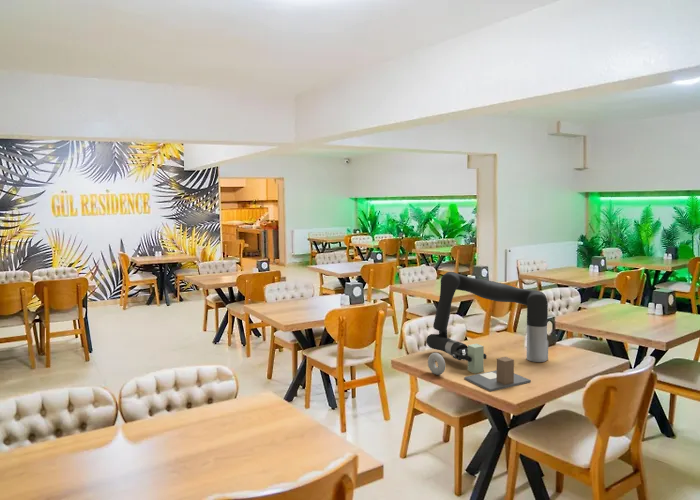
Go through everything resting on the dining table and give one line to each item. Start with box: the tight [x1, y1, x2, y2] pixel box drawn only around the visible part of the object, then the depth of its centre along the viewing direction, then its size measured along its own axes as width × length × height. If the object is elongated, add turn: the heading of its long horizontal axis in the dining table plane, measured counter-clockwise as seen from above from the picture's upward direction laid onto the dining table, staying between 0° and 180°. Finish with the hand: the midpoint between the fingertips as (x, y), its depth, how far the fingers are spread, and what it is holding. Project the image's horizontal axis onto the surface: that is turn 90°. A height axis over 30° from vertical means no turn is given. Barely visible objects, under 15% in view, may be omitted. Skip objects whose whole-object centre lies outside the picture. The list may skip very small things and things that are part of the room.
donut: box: [427, 352, 446, 376], centre depth 241 cm, size 10×4×10 cm, turn 34°
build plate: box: [463, 356, 532, 392], centre depth 231 cm, size 22×17×11 cm
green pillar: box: [467, 343, 485, 375], centre depth 244 cm, size 5×5×12 cm
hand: (478, 358), depth 242 cm, fingers open, 8 cm apart
